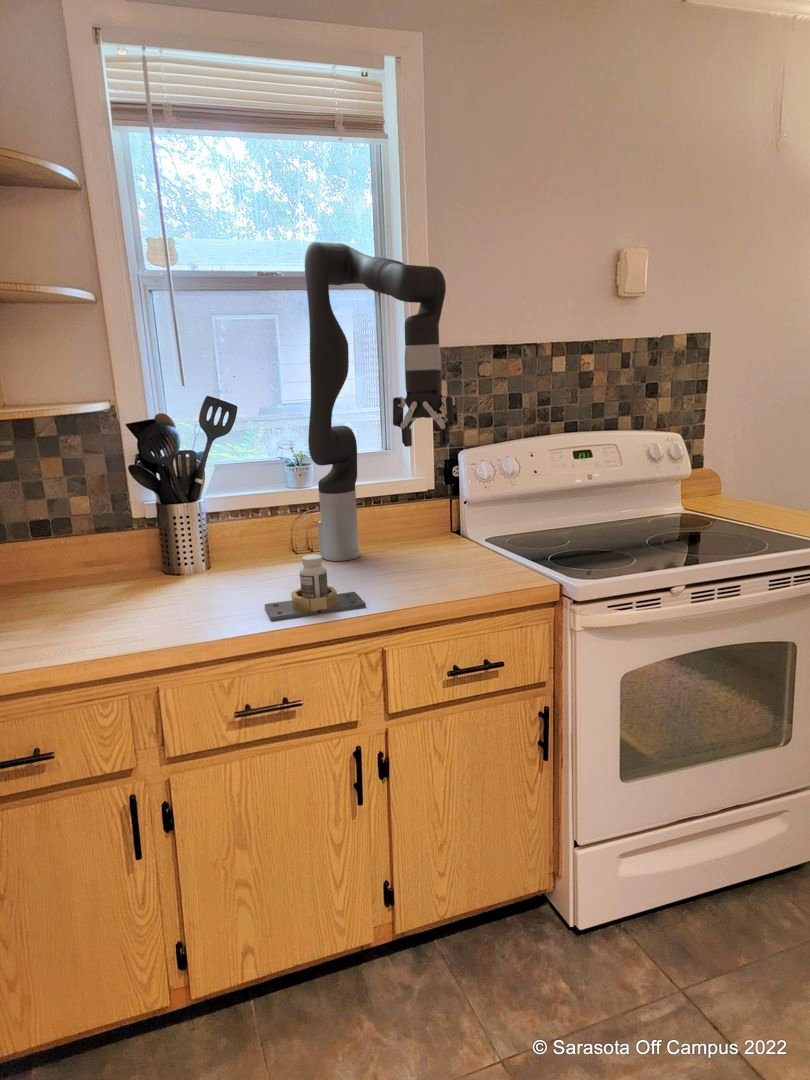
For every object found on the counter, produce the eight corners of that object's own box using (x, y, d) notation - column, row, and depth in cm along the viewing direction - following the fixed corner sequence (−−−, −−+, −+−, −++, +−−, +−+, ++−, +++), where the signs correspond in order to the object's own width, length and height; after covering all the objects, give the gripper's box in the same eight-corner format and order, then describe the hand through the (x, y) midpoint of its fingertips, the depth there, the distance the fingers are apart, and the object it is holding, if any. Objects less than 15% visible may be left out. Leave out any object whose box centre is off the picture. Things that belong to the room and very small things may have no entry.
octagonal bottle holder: (271, 621, 140) (269, 604, 139) (264, 607, 148) (263, 592, 147) (365, 607, 146) (365, 591, 145) (354, 595, 154) (353, 580, 153)
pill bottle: (323, 597, 150) (320, 552, 148) (332, 604, 146) (329, 557, 143) (298, 602, 148) (294, 556, 146) (307, 609, 143) (303, 561, 141)
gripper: (384, 369, 150) (387, 448, 154) (445, 367, 143) (448, 449, 147) (402, 369, 156) (405, 444, 160) (462, 366, 149) (463, 445, 153)
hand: (425, 446), depth 153 cm, fingers open, 8 cm apart
